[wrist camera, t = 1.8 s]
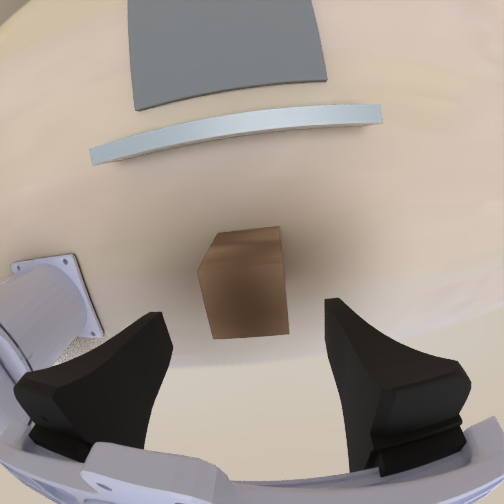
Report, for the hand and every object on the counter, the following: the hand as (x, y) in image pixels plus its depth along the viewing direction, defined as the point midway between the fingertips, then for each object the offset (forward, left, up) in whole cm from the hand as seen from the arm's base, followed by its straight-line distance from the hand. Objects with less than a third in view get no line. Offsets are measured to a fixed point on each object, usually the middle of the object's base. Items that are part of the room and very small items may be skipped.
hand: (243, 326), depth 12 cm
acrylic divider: (0, +8, -8) cm, 12 cm away
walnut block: (0, 0, -8) cm, 8 cm away
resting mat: (0, +17, -8) cm, 19 cm away
